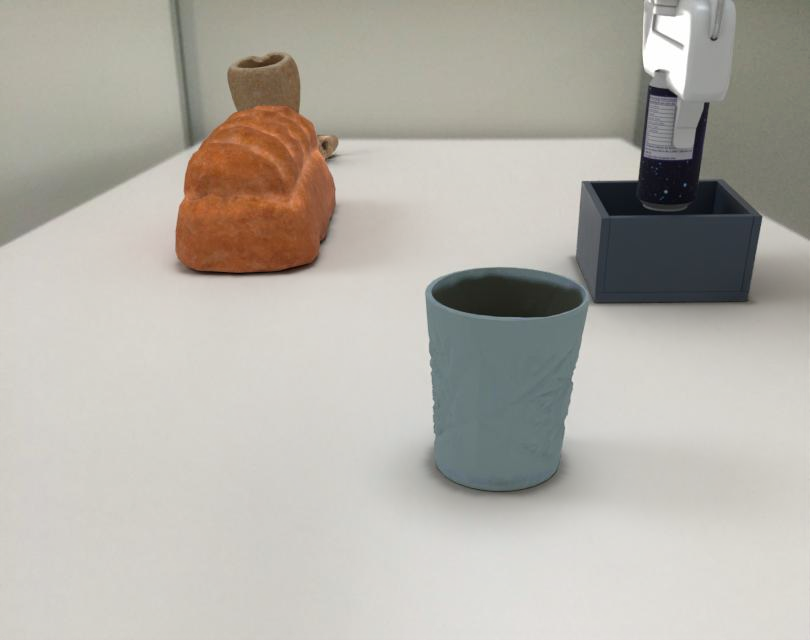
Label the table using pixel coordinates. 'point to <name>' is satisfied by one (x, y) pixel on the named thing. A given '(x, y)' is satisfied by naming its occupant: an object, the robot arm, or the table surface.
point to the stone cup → (271, 88)
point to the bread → (255, 195)
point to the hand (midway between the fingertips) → (673, 139)
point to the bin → (666, 245)
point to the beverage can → (667, 153)
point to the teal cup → (502, 372)
